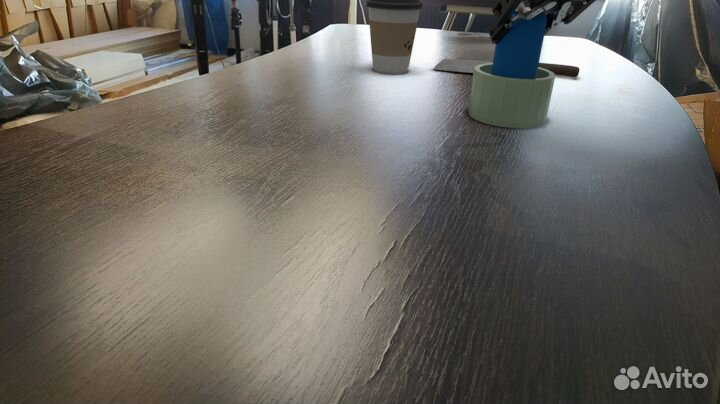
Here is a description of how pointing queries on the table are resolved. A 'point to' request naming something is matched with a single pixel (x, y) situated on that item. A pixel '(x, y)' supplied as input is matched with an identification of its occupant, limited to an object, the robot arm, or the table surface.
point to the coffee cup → (392, 33)
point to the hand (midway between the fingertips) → (512, 37)
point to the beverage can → (520, 49)
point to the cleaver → (469, 65)
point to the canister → (510, 98)
